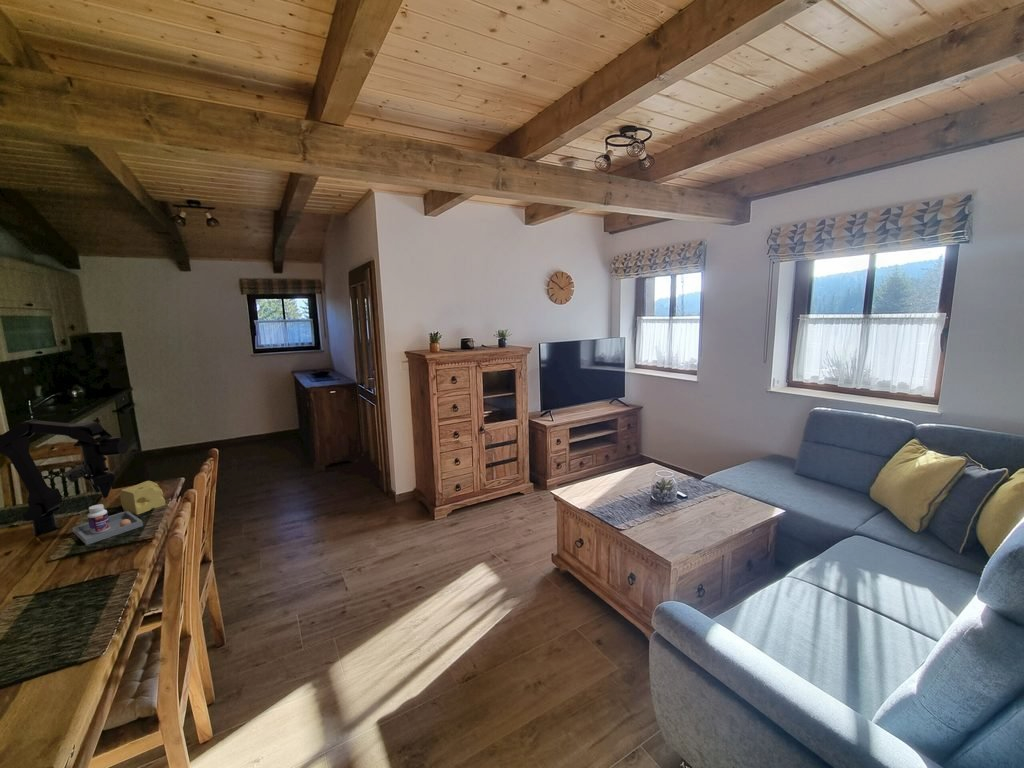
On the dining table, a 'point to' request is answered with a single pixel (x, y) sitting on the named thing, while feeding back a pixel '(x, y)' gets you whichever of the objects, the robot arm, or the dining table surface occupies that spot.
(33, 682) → the dining table surface
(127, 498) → the cheese
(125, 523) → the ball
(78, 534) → the tray
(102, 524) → the pill bottle
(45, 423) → the robot arm
